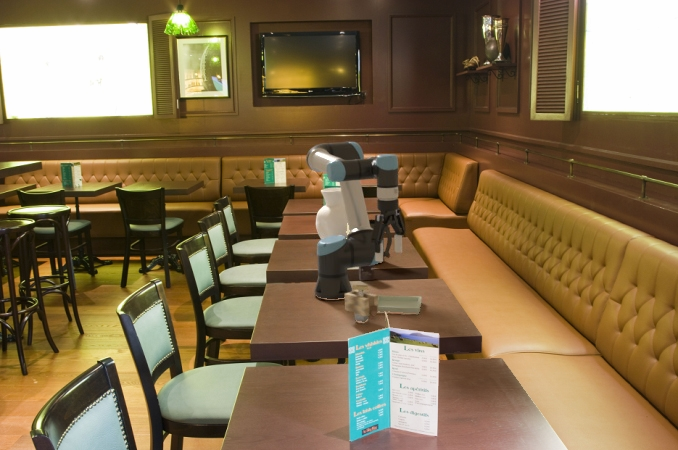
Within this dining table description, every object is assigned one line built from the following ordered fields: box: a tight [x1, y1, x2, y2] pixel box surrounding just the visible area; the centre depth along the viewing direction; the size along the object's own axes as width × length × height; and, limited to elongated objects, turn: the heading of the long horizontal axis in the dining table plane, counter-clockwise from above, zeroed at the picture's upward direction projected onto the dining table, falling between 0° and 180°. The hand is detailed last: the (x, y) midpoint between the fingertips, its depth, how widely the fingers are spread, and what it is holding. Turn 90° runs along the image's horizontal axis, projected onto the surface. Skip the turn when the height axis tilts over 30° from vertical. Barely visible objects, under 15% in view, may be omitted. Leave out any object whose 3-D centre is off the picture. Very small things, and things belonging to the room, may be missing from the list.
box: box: [358, 265, 375, 282], centre depth 273 cm, size 6×4×12 cm
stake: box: [351, 284, 370, 322], centre depth 224 cm, size 6×4×13 cm
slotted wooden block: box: [344, 290, 379, 317], centre depth 224 cm, size 12×6×6 cm, turn 44°
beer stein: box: [369, 219, 393, 262], centre depth 298 cm, size 15×11×20 cm
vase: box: [315, 187, 348, 240], centre depth 332 cm, size 19×21×30 cm
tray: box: [377, 294, 423, 315], centre depth 238 cm, size 17×13×3 cm
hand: (389, 256), depth 230 cm, fingers open, 13 cm apart
